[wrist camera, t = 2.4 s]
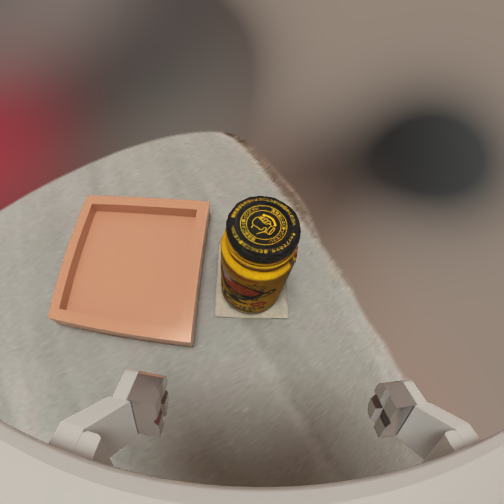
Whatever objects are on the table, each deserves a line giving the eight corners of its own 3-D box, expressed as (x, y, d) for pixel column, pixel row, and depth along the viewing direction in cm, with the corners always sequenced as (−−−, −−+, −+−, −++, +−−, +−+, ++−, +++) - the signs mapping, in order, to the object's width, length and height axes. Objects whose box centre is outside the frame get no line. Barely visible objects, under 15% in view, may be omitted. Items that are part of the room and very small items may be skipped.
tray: (193, 347, 27) (190, 342, 25) (58, 324, 26) (47, 317, 24) (210, 214, 34) (209, 201, 32) (93, 207, 33) (87, 195, 31)
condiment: (214, 317, 29) (210, 265, 18) (219, 242, 33) (219, 166, 22) (287, 319, 29) (324, 269, 19) (284, 246, 33) (310, 173, 23)
